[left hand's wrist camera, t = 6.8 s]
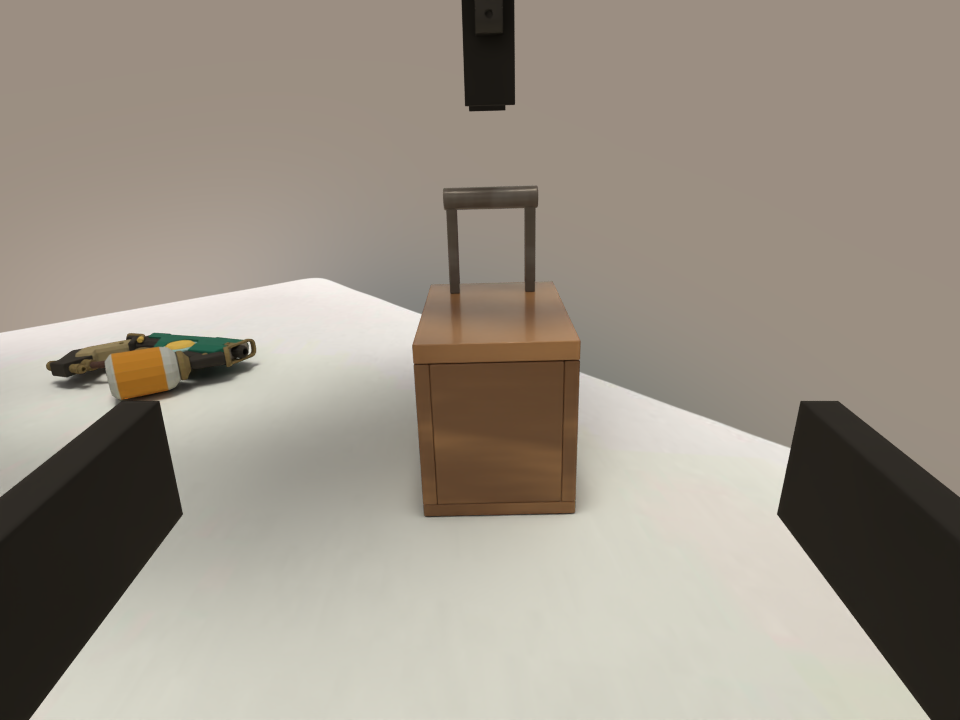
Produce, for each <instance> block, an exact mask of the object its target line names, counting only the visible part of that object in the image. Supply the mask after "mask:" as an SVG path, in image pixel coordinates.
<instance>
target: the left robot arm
mask: <svg viewBox="0 0 960 720" xmlns="http://www.w3.org/2000/svg"><path fill="white" fill-rule="evenodd" d="M182 515H183V512H182V508H181V503H180V498H179V493H178V488H177V484H176V479H175V474H174V469H173V464H172V460H171V455H170V450H169V445H168V440H167V436H166V431H165V426H164V421H163V416H162V412H161V407H160V402H159V401H121V402H120V403H119V404H118V405H116V406H115V407H114V408H113V409H111V410H110V411H109V412H107V413H106V414H105V415H104V416H102V417H101V418H100V419H99V420H97V421H96V422H95V423H94V424H92V425H91V426H90V427H89V428H87V429H86V430H85V431H83V432H82V433H81V434H80V435H78V436H77V437H76V438H75V439H73V440H72V441H71V442H70V443H68V444H67V445H66V446H65V447H63V448H62V449H61V450H59V451H58V452H57V453H56V454H54V455H53V456H52V457H51V458H49V459H48V460H47V461H46V462H44V463H43V464H42V465H41V466H39V467H38V468H37V469H35V470H34V471H33V472H32V473H30V474H29V475H28V476H27V477H25V478H24V479H23V480H22V481H20V482H19V483H18V484H17V485H15V486H14V487H13V488H11V489H10V490H9V491H8V492H6V493H5V494H4V495H3V496H1V497H0V720H29V719H30V718H31V716H32V715H33V714H34V712H35V711H36V710H37V708H38V707H39V706H40V704H41V703H42V702H43V700H44V699H45V698H46V696H47V695H48V694H49V692H50V691H51V690H52V688H53V687H54V686H55V684H56V683H57V682H58V680H59V679H60V678H61V676H62V675H63V674H64V672H65V671H66V670H67V668H68V667H69V666H70V664H71V663H72V662H73V660H74V659H75V658H76V656H77V655H78V654H79V652H80V651H81V650H82V648H83V647H84V646H85V644H86V643H87V642H88V640H89V639H90V638H91V636H92V635H93V634H94V632H95V631H96V630H97V628H98V627H99V626H100V624H101V623H102V622H103V620H104V619H105V618H106V616H107V615H108V614H109V612H110V611H111V610H112V608H113V607H114V606H115V604H116V603H117V602H118V600H119V599H120V598H121V596H122V595H123V594H124V592H125V591H126V590H127V588H128V587H129V586H130V584H131V583H132V582H133V580H134V579H135V578H136V576H137V575H138V574H139V572H140V571H141V570H142V568H143V567H144V566H145V564H146V563H147V562H148V560H149V559H150V558H151V556H152V555H153V554H154V552H155V551H156V550H157V548H158V547H159V546H160V544H161V543H162V542H163V540H164V539H165V538H166V536H167V535H168V534H169V532H170V531H171V530H172V528H173V527H174V526H175V524H176V523H177V521H178V520H179V519H180V517H181V516H182ZM777 515H778V516H779V517H780V519H781V520H782V521H783V523H784V524H785V526H786V527H787V528H788V530H789V531H790V532H791V534H792V535H793V536H794V538H795V539H796V540H797V542H798V543H799V544H800V546H801V547H802V548H803V550H804V551H805V552H806V554H807V555H808V556H809V558H810V559H811V560H812V562H813V563H814V564H815V566H816V567H817V568H818V570H819V571H820V572H821V574H822V575H823V576H824V578H825V579H826V580H827V582H828V583H829V584H830V586H831V587H832V588H833V590H834V591H835V592H836V594H837V595H838V596H839V598H840V599H841V600H842V602H843V603H844V604H845V606H846V607H847V608H848V610H849V611H850V612H851V614H852V615H853V616H854V618H855V619H856V620H857V622H858V623H859V624H860V626H861V627H862V628H863V630H864V631H865V632H866V634H867V635H868V636H869V638H870V639H871V640H872V642H873V643H874V644H875V646H876V647H877V648H878V650H879V651H880V652H881V654H882V655H883V656H884V658H885V659H886V660H887V662H888V663H889V664H890V666H891V667H892V668H893V670H894V671H895V672H896V674H897V675H898V676H899V678H900V679H901V680H902V682H903V683H904V684H905V686H906V687H907V688H908V690H909V691H910V692H911V694H912V695H913V696H914V698H915V699H916V700H917V702H918V703H919V704H920V706H921V707H922V708H923V710H924V711H925V712H926V714H927V715H928V716H929V718H930V719H931V720H960V497H959V496H957V495H956V494H955V493H954V492H952V491H951V490H950V489H949V488H947V487H946V486H945V485H943V484H942V483H941V482H940V481H938V480H937V479H936V478H935V477H933V476H932V475H931V474H930V473H928V472H927V471H926V470H925V469H923V468H922V467H921V466H919V465H918V464H917V463H916V462H914V461H913V460H912V459H911V458H909V457H908V456H907V455H906V454H904V453H903V452H902V451H901V450H899V449H898V448H897V447H895V446H894V445H893V444H892V443H890V442H889V441H888V440H887V439H885V438H884V437H883V436H882V435H880V434H879V433H878V432H876V431H875V430H874V429H873V428H871V427H870V426H869V425H868V424H866V423H865V422H864V421H863V420H861V419H860V418H859V417H858V416H856V415H855V414H854V413H853V412H851V411H850V410H849V409H847V408H846V407H845V406H844V405H842V404H841V403H840V402H839V401H801V402H800V407H799V412H798V417H797V421H796V426H795V431H794V436H793V440H792V445H791V450H790V455H789V460H788V464H787V469H786V474H785V479H784V484H783V488H782V493H781V498H780V503H779V508H778V512H777Z"/></svg>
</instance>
